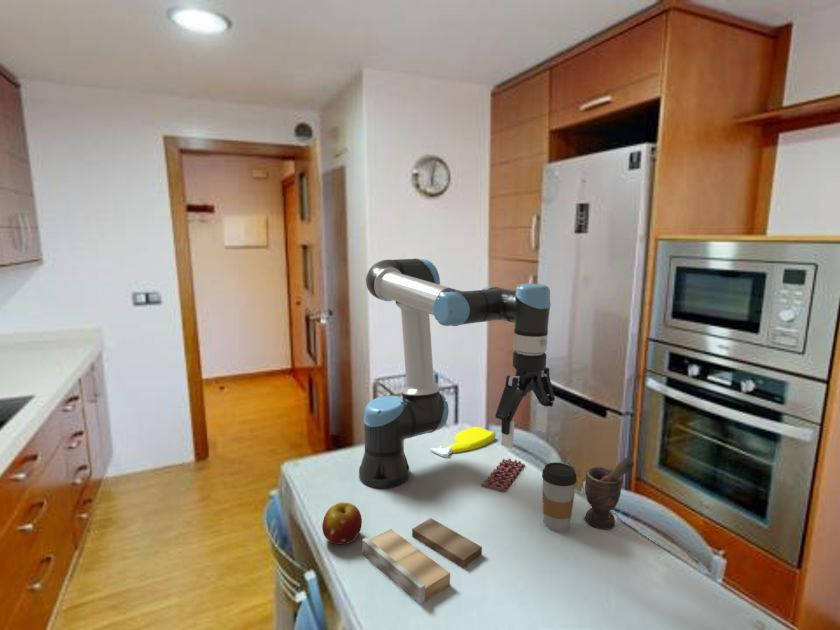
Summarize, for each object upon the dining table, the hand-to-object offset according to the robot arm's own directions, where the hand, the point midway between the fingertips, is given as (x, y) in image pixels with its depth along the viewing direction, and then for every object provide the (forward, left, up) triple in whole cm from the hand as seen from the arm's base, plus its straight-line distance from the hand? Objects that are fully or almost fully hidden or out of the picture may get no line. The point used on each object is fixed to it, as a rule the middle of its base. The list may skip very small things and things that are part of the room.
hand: (524, 438), depth 116 cm
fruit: (-26, -35, -25) cm, 50 cm away
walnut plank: (-8, -18, -25) cm, 31 cm away
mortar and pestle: (+12, +19, -24) cm, 33 cm away
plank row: (-8, -30, -24) cm, 39 cm away
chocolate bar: (-21, +19, -25) cm, 38 cm away
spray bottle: (-44, +25, -25) cm, 56 cm away
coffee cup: (+4, +9, -24) cm, 26 cm away
